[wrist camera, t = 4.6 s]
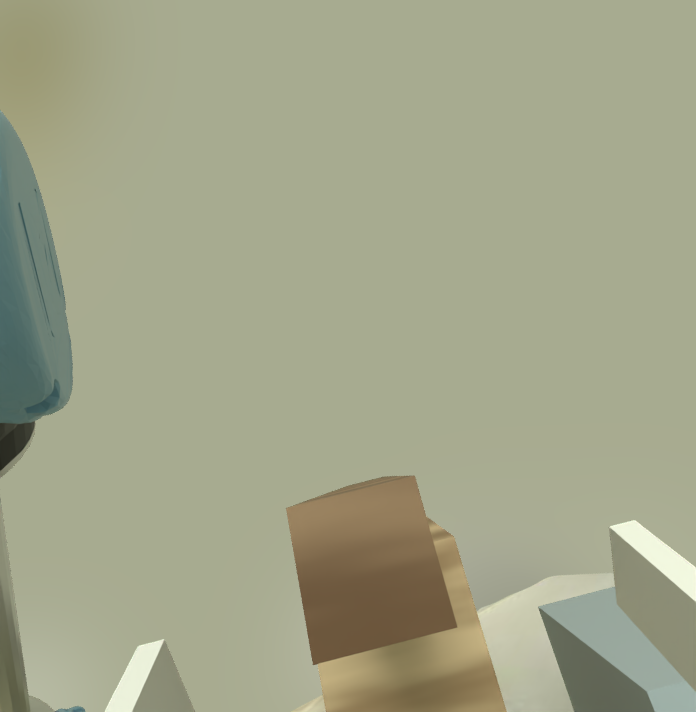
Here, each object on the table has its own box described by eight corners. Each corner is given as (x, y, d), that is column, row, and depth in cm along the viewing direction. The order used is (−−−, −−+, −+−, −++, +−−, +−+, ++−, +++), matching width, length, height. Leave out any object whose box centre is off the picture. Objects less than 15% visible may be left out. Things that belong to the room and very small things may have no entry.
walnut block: (457, 627, 10) (414, 475, 11) (313, 665, 10) (286, 508, 11) (394, 516, 38) (384, 476, 40) (356, 525, 38) (347, 485, 40)
